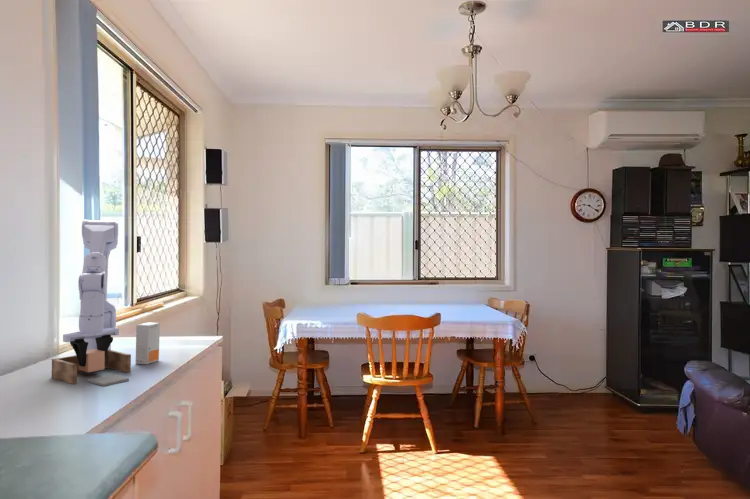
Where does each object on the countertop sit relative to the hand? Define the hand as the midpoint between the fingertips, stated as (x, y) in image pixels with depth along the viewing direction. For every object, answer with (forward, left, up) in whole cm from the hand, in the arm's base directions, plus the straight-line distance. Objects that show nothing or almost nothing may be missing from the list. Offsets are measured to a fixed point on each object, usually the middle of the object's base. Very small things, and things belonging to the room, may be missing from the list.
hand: (91, 364), depth 144 cm
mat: (+10, -1, -3) cm, 11 cm away
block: (0, 0, -1) cm, 1 cm away
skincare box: (-1, +18, -3) cm, 18 cm away
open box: (0, 0, -3) cm, 3 cm away
